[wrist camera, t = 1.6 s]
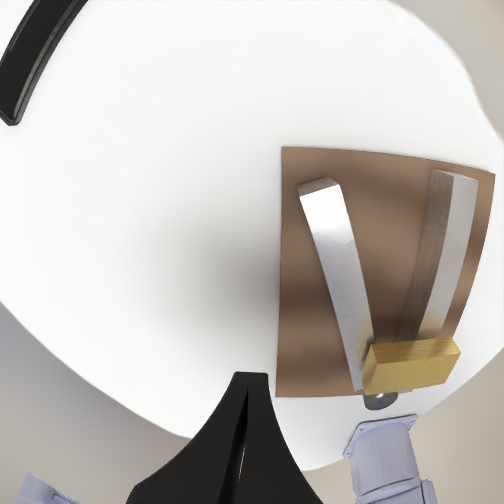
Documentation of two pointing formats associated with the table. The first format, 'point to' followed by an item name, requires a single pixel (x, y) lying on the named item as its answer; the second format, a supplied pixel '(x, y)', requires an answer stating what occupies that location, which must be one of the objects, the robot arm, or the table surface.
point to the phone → (32, 53)
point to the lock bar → (408, 365)
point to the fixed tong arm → (435, 263)
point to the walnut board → (370, 256)
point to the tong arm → (340, 268)
